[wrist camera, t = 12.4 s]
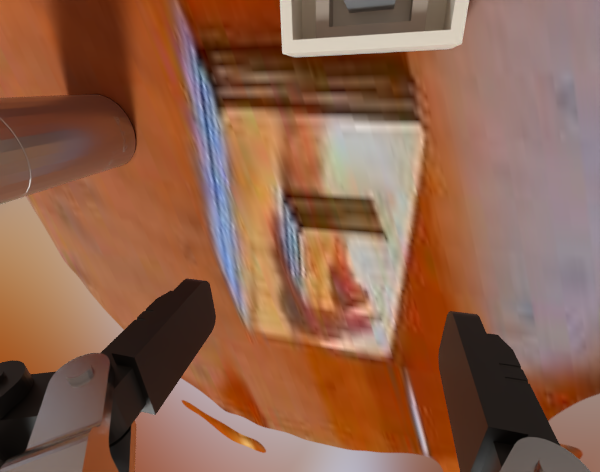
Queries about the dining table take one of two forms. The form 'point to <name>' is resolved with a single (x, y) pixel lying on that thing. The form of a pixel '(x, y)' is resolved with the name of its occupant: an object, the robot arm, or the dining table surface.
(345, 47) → the caddy
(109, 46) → the dining table surface
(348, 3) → the plug
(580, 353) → the dining table surface
